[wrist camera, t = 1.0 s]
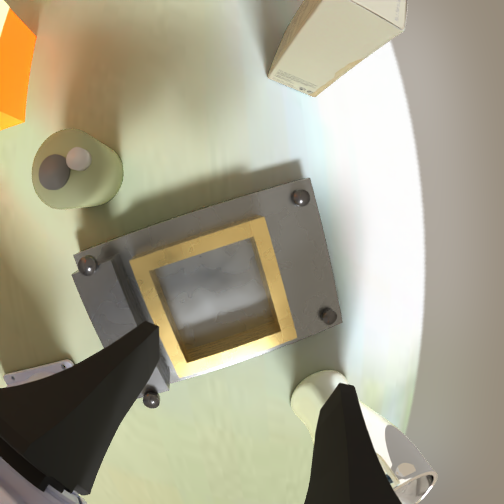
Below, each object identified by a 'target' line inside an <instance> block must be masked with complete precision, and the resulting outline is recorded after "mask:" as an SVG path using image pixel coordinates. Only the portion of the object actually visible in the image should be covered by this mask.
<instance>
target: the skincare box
mask: <svg viewBox="0 0 504 504" xmlns="http://www.w3.org/2000/svg"><path fill="white" fill-rule="evenodd" d="M407 8H408V0H304V2H303V3H302V5H301V6H300V8H299V9H298V11H297V12H296V14H295V16H294V17H293V19H292V20H291V22H290V24H289V25H288V27H287V29H286V31H285V33H284V35H283V38H282V40H281V42H280V45H279V47H278V50H277V52H276V55H275V57H274V60H273V63H272V65H271V68H270V71H269V74H268V78H269V79H271V80H274V81H276V82H279V83H281V84H283V85H286V86H288V87H291V88H293V89H295V90H298V91H300V92H303V93H305V94H308V95H310V96H312V97H316V96H317V95H318V94H320V93H321V92H322V91H323V90H324V89H326V88H327V87H328V86H330V85H331V84H332V83H333V82H335V81H336V80H337V79H338V78H340V77H341V76H342V75H344V74H345V73H346V72H347V71H349V70H350V69H351V68H353V67H354V66H355V65H357V64H358V63H359V62H361V61H362V60H363V59H365V58H366V57H368V56H369V55H370V54H372V53H373V52H375V51H376V50H377V49H379V48H380V47H382V46H383V45H384V44H386V43H387V42H389V41H390V40H392V39H393V38H395V37H396V36H398V35H399V34H401V33H402V32H404V30H405V25H406V19H407Z"/></svg>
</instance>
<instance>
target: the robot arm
mask: <svg viewBox="0 0 504 504" xmlns="http://www.w3.org/2000/svg"><path fill="white" fill-rule="evenodd" d="M159 359H160V350H159V326H157V325H155V324H153V323H150V322H148V321H144V322H142V323H141V324H139V325H138V326H137V327H135V328H134V329H132V330H131V331H130V332H128V333H127V334H125V335H124V336H122V337H121V338H119V339H118V340H116V341H115V342H113V343H112V344H110V345H109V346H107V347H106V348H104V349H102V350H101V351H99V352H97V353H96V354H94V355H92V356H90V357H89V358H87V359H85V360H83V361H82V362H80V363H78V364H76V365H74V364H73V362H72V361H71V360H68V359H66V360H62V361H58V362H54V363H50V364H46V365H42V366H38V367H34V368H29V369H25V370H21V371H16V372H12V373H8V374H5V375H4V380H5V382H6V384H7V387H6V388H0V504H87V502H86V501H85V500H84V499H83V498H82V497H80V496H78V494H81V495H88V494H90V492H91V489H92V486H93V484H94V481H95V478H96V475H97V473H98V470H99V468H100V465H101V463H102V461H103V458H104V456H105V454H106V452H107V449H108V447H109V445H110V443H111V441H112V439H113V437H114V435H115V433H116V431H117V429H118V427H119V425H120V423H121V422H122V420H123V418H124V417H125V415H126V414H127V412H128V411H129V409H130V408H131V406H132V405H133V403H134V402H135V400H136V399H137V397H138V396H139V394H140V393H141V391H142V390H143V388H144V387H145V385H146V384H147V382H148V381H149V379H150V377H151V375H152V373H153V371H154V369H155V367H156V365H157V363H158V361H159ZM63 365H65V367H66V368H65V367H63ZM304 504H402V503H401V501H400V499H399V498H398V496H397V495H396V493H395V491H394V490H393V488H392V486H391V484H390V482H389V481H388V479H387V477H386V475H385V472H384V470H383V468H382V466H381V464H380V462H379V459H378V457H377V454H376V452H375V449H374V447H373V444H372V441H371V438H370V435H369V432H368V430H367V427H366V424H365V420H364V417H363V414H362V411H361V407H360V404H359V400H358V397H357V393H356V390H355V387H354V386H353V385H348V384H344V383H339V384H338V385H337V387H336V388H335V390H334V391H333V393H332V394H331V395H330V397H329V398H328V400H327V401H326V402H325V404H324V405H323V406H322V408H321V409H320V413H319V417H318V422H317V427H316V431H315V440H314V449H313V459H312V468H311V476H310V482H309V488H308V492H307V495H306V499H305V503H304Z"/></svg>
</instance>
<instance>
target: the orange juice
mask: <svg viewBox="0 0 504 504" xmlns="http://www.w3.org/2000/svg"><path fill="white" fill-rule="evenodd" d="M35 41H36V36H35V35H34V34H33V33H32V31H31V30H30V29H29V28H28V27H27V26H26V25H25V24H24V23H23V22H22V21H21V20H20V19H19V17H18V16H17V15H16V14H15V13H14V12H13V11H12V10H11V9H10V8H9V6H8V4H7V3H6V2H5V1H4V0H0V130H3V129H6V128H8V127H11V126H14V125H17V124H20V123H23V122H25V109H26V98H27V89H28V82H29V74H30V68H31V62H32V56H33V51H34V46H35Z"/></svg>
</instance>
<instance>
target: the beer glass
mask: <svg viewBox="0 0 504 504" xmlns="http://www.w3.org/2000/svg"><path fill="white" fill-rule="evenodd" d="M339 383H344V384H348V381H347V380H346V378H345V377H344V375H342V374H341V373H340V372H337V371H334V370H323V371H319V372H316V373H314V374H312V375H310V376H308V377H307V378H305V379H304V380H303V381H302V382H300V383H299V385H298V386H297V387H296V388H295V390H294V392H293V394H292V397H291V408H292V410H293V412H294V413H295V414H296V416H297V417H298V418H299V419H300V420H301V421H302V422H303V423H304V424H305V425H306V427H307V429H308V430H309V433H310V435H311V438H312V441H313V445H314V440H315V431H316V427H317V422H318V417H319V413H320V409H321V408H322V406H323V405H324V404H325V402H326V401H327V400H328V398H329V397H330V395H331V394H332V393H333V391H334V390H335V388H336V387H337V385H338V384H339ZM348 385H349V384H348ZM358 400H359V399H358ZM359 404H360V407H361V411H362V414H363V417H364V420H365V424H366V427H367V430H368V432H369V435H370V438H371V441H372V444H373V447H374V449H375V452H376V454H377V457H378V459H379V462H380V464H381V466H382V468H383V470H384V472H385V475H386V477H387V479H388V481H389V482H390V484H391V486H392V488H393V490H394V491H395V493H396V495H397V496H398V498H399V499H400V501H401V503H402V504H417V503H419V502H420V501H421V500H422V499H423V498H424V497H425V495H427V494H428V492H429V491H430V490H431V488H432V487H433V486H434V484H435V482H436V480H437V476H438V475H437V473H436V472H435V471H434V470H433V469H432V467H431V466H430V465H429V463H428V462H427V460H426V459H425V458H424V457H423V455H422V454H421V453H420V451H419V450H418V449H417V447H416V446H415V445H414V444H413V443H412V442H411V441H410V439H409V438H408V437H406V435H405V434H404V433H403V432H402V431H401V430H399V429H398V428H397V427H396V426H395V425H393V424H392V423H391V422H389V421H388V420H387V419H385V418H384V417H383V416H381V415H380V414H378V413H377V412H375V411H374V410H372V409H371V408H369V407H368V406H367V405H365V404H364V403H363V402H361V401H360V400H359Z"/></svg>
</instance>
